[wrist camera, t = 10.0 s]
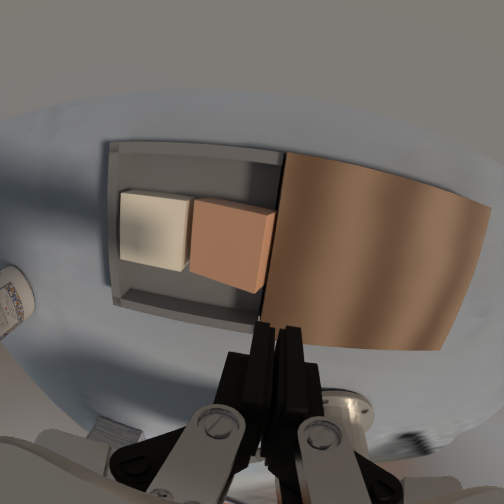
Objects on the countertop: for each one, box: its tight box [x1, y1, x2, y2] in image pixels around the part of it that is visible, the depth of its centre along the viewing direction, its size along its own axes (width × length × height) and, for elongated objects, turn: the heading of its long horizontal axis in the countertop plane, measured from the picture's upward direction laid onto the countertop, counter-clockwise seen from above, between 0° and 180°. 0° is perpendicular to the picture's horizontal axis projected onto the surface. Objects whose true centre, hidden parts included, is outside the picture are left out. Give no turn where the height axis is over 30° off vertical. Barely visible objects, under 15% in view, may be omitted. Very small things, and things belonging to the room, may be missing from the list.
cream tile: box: [120, 189, 195, 272], centre depth 19 cm, size 5×5×2 cm
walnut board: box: [260, 152, 491, 350], centre depth 19 cm, size 16×13×3 cm
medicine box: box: [86, 416, 146, 448], centre depth 28 cm, size 8×4×9 cm, turn 84°
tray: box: [107, 141, 284, 334], centre depth 19 cm, size 12×13×2 cm
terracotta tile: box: [189, 197, 278, 294], centre depth 18 cm, size 5×5×2 cm
